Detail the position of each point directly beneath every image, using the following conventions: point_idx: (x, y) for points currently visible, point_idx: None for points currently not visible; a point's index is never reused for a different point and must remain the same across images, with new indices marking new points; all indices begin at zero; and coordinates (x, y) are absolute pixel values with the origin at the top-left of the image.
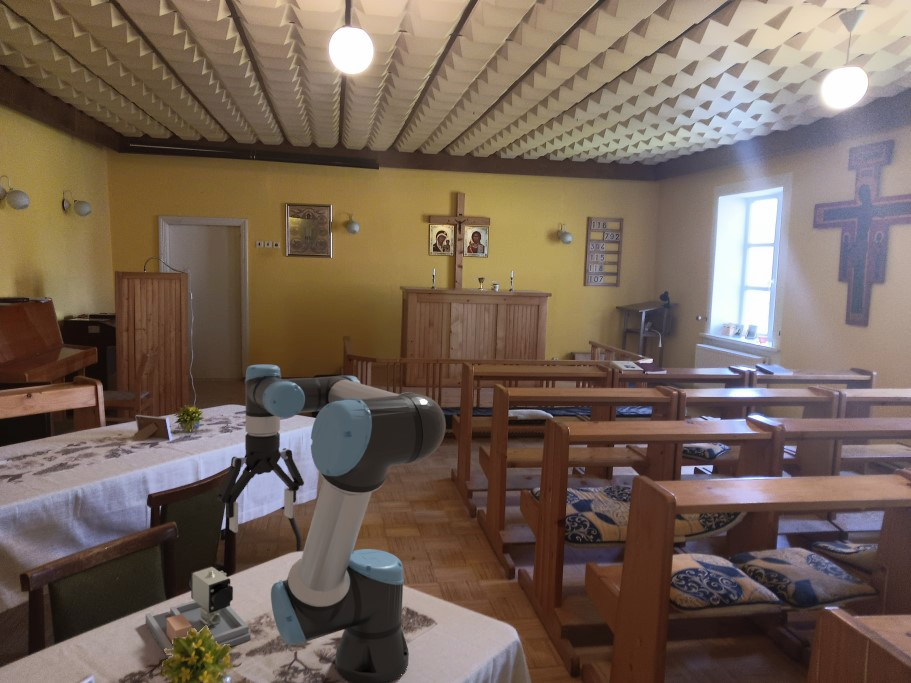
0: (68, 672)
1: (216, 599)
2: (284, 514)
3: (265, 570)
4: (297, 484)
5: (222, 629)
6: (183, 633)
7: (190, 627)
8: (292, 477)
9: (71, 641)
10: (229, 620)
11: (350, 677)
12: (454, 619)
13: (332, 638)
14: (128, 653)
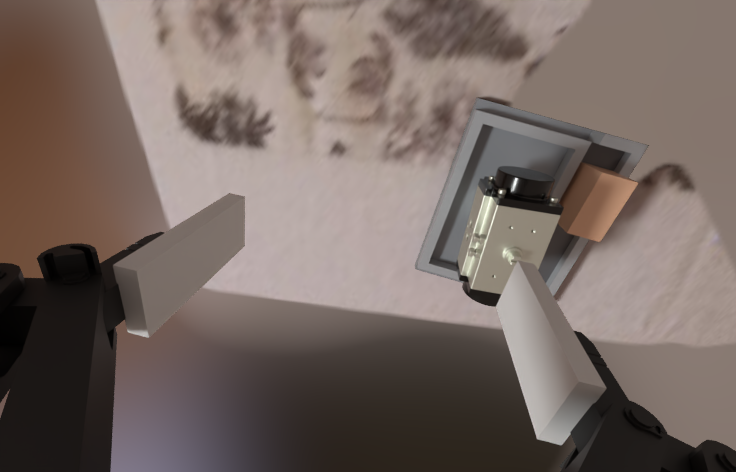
0: (724, 274)
1: (548, 177)
2: (241, 247)
3: (283, 283)
4: (32, 293)
5: (495, 164)
6: (614, 174)
7: (602, 172)
8: (8, 378)
9: (639, 342)
10: (461, 182)
11: None
12: None
13: None
14: (630, 246)
